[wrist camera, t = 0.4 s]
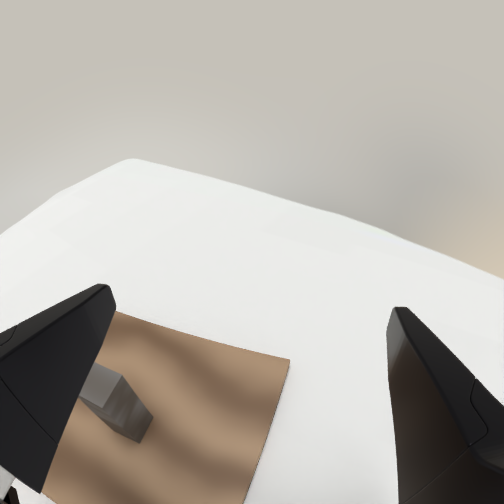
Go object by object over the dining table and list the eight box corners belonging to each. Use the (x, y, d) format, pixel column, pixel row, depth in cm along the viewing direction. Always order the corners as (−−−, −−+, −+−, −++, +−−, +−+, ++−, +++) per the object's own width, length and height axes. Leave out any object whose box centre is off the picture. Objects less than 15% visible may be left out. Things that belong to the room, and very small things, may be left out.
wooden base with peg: (210, 581, 12) (184, 601, 7) (8, 460, 17) (-50, 422, 12) (289, 365, 27) (296, 305, 22) (105, 312, 32) (78, 255, 27)
